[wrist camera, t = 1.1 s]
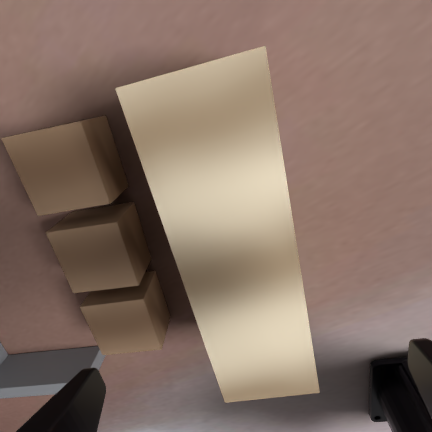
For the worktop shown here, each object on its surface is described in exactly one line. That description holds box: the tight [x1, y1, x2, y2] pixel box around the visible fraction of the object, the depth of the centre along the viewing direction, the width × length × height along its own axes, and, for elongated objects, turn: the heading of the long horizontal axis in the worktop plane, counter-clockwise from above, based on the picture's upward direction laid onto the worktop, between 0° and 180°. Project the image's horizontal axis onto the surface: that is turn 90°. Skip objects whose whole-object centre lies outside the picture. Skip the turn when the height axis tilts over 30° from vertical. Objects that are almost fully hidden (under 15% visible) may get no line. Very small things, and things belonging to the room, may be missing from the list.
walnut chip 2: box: [80, 271, 170, 355], centre depth 19 cm, size 4×4×3 cm
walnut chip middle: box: [46, 202, 151, 293], centre depth 18 cm, size 4×4×3 cm
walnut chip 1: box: [1, 115, 129, 216], centre depth 16 cm, size 4×4×3 cm
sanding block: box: [115, 46, 320, 403], centre depth 15 cm, size 16×5×6 cm, turn 14°
